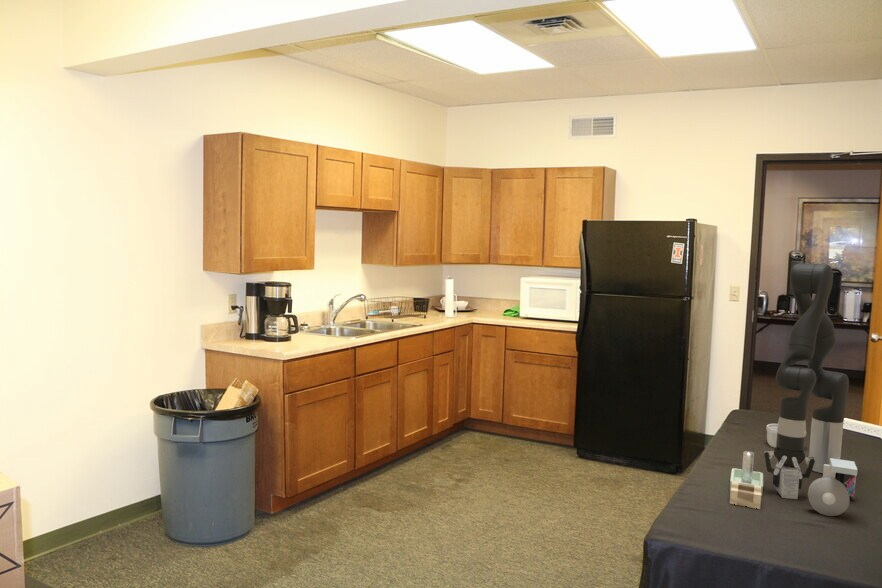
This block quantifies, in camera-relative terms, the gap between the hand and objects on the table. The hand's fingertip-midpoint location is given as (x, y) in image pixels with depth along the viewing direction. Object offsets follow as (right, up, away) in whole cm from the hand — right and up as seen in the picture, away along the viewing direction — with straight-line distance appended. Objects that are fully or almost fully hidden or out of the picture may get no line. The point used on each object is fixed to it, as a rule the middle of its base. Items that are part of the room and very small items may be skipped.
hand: (786, 487), depth 212 cm
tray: (-10, -1, +6) cm, 11 cm away
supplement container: (+16, -3, 0) cm, 16 cm away
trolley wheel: (+5, -3, -13) cm, 15 cm away
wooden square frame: (-15, -2, -7) cm, 17 cm away
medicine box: (0, -2, 0) cm, 2 cm away
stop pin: (-10, -1, +6) cm, 11 cm away
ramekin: (+24, +1, +50) cm, 55 cm away
